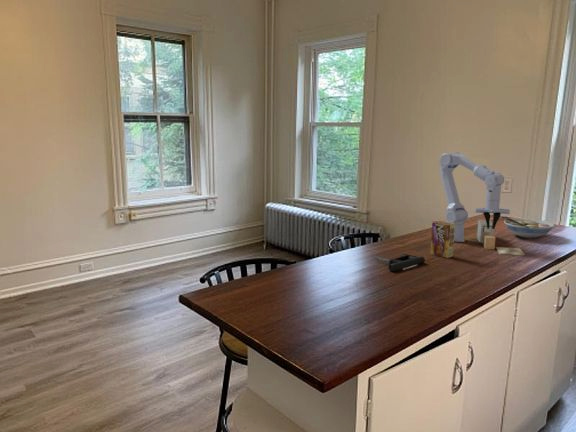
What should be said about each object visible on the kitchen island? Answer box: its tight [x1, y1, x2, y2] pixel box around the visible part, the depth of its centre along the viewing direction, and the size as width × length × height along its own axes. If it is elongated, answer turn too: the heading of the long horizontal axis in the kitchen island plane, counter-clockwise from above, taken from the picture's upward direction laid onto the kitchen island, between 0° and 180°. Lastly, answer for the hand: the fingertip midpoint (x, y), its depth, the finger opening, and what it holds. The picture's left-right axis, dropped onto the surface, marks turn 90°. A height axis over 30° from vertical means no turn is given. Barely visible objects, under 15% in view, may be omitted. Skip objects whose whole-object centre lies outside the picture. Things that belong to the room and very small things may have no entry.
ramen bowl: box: [501, 216, 555, 239], centre depth 223 cm, size 25×23×8 cm
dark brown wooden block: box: [476, 219, 495, 244], centre depth 217 cm, size 6×12×9 cm, turn 163°
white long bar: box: [483, 226, 492, 232], centre depth 218 cm, size 3×18×2 cm, turn 163°
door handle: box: [375, 253, 426, 272], centre depth 182 cm, size 3×20×16 cm
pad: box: [495, 246, 526, 256], centre depth 197 cm, size 10×10×1 cm
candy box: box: [430, 219, 455, 259], centre depth 192 cm, size 9×4×15 cm, turn 39°
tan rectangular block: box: [483, 235, 496, 250], centre depth 203 cm, size 4×4×6 cm
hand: (490, 228), depth 202 cm, fingers closed
